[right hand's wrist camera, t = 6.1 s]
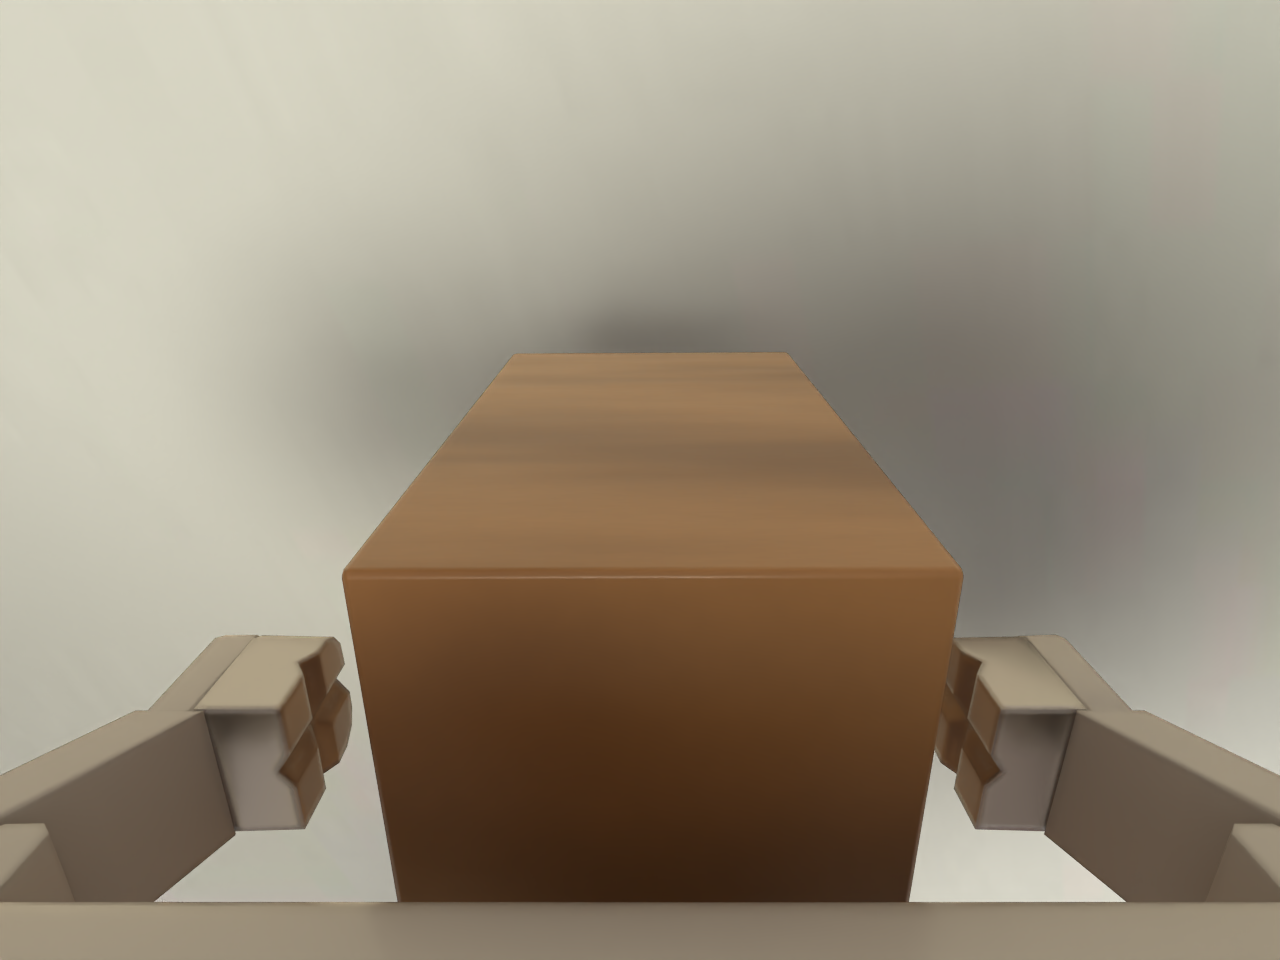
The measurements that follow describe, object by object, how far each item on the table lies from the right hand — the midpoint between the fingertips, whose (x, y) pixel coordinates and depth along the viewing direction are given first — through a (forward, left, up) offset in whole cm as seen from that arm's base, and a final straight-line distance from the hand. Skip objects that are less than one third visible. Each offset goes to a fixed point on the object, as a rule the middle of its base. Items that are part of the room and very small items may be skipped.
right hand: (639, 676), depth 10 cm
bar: (0, +10, -4) cm, 11 cm away
